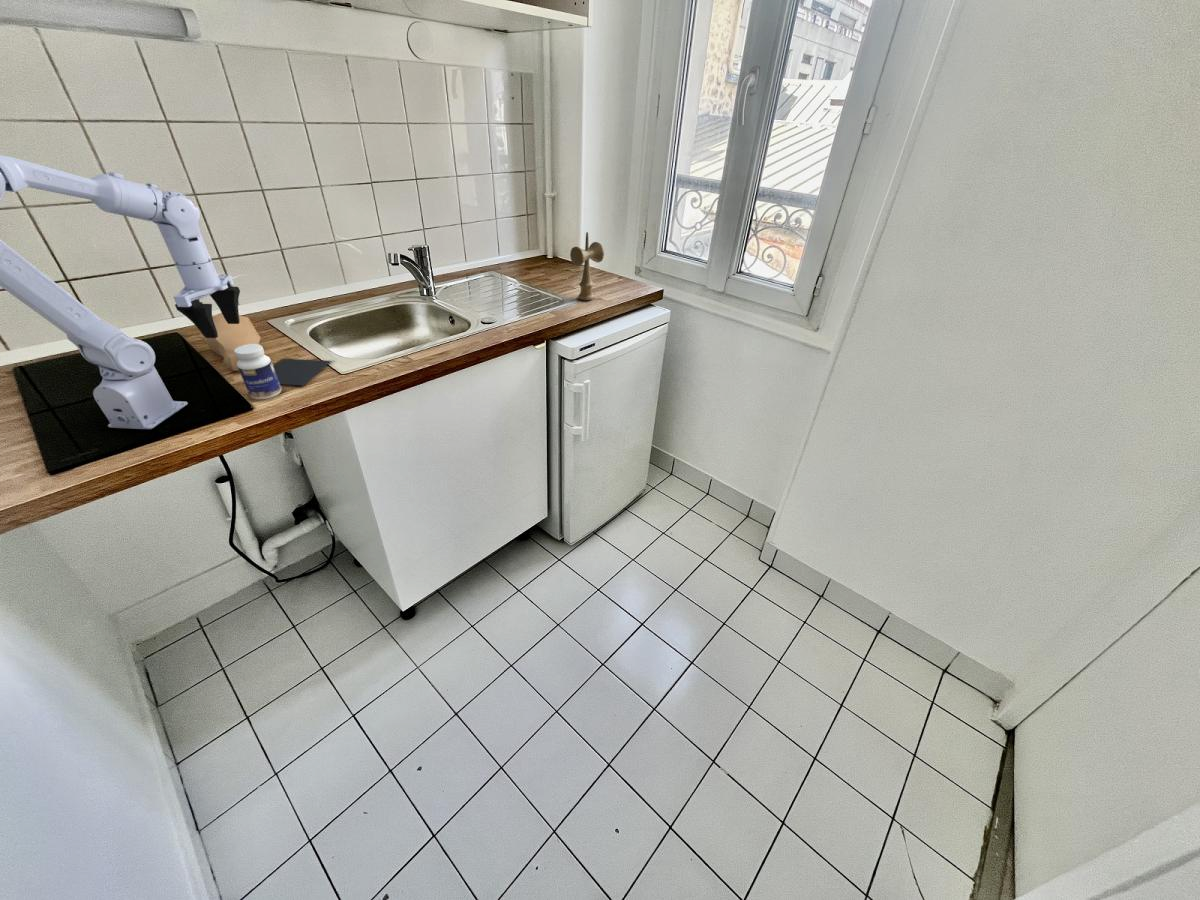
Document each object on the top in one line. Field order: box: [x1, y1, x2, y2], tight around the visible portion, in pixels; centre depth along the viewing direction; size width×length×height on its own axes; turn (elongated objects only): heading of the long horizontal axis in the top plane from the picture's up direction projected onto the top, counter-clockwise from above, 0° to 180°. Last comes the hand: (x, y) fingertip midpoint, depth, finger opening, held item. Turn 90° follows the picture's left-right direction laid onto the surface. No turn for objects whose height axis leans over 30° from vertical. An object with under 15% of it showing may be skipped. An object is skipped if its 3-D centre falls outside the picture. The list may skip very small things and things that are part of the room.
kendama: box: [570, 231, 605, 301], centre depth 149 cm, size 6×10×20 cm, turn 135°
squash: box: [201, 312, 262, 372], centre depth 111 cm, size 11×20×9 cm, turn 39°
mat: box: [273, 358, 331, 388], centre depth 107 cm, size 12×11×1 cm
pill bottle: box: [234, 343, 282, 400], centre depth 97 cm, size 6×6×10 cm
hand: (223, 330), depth 100 cm, fingers open, 7 cm apart
